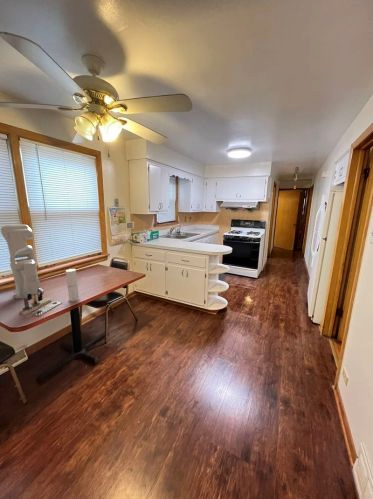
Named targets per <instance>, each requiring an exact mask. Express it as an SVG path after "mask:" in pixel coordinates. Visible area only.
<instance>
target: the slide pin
mask: <svg viewBox="0 0 373 499" xmlns="http://www.w3.org/2000/svg"><path fill="white" fill-rule="evenodd" d="M32 301H33V302H32V303H30V304H31V305H35V306H37V305H39V304H40V302H39V301H38V295H37V294H32ZM31 305H30V306H31Z"/></svg>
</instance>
